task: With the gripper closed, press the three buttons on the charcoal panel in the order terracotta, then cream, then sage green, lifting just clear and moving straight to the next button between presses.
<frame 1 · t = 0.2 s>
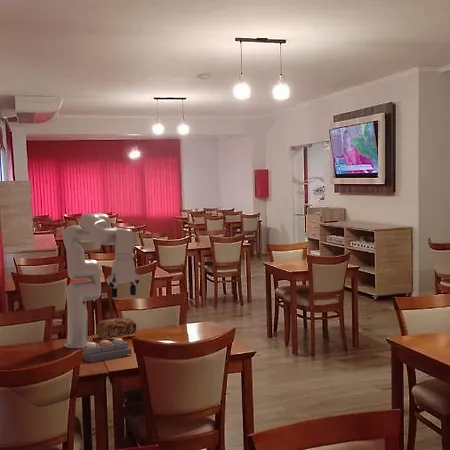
hand: (123, 296, 264), 31 cm above the table, tool pointing down, fingers open, 9 cm apart
sage button: (118, 341, 284), point 6 cm above the table, slide at 0.0 cm
button panel: (104, 356, 280), on the table
terracotta button: (104, 343, 280), point 6 cm above the table, slide at 0.0 cm
cream button: (91, 346, 275), point 6 cm above the table, slide at 0.0 cm
bread: (116, 337, 319), on the table
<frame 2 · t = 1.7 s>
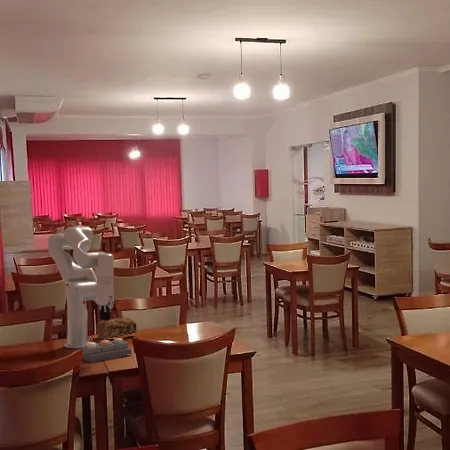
hand: (105, 319, 279), 17 cm above the table, tool pointing down, fingers closed
nothing on the table moved.
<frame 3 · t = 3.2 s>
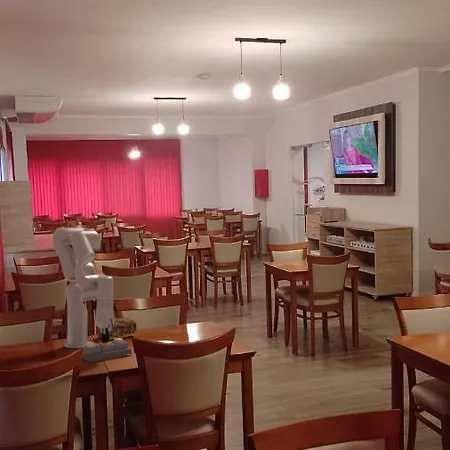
hand: (105, 342, 279), 7 cm above the table, tool pointing down, fingers closed
terracotta button: (104, 344, 280), point 5 cm above the table, slide at 0.5 cm, touching gripper
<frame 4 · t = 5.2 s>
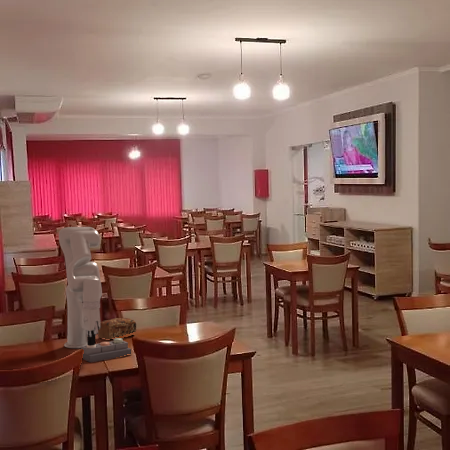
hand: (91, 344, 275), 6 cm above the table, tool pointing down, fingers closed
terracotta button: (104, 345, 280), point 5 cm above the table, slide at 0.8 cm
cream button: (91, 347, 275), point 5 cm above the table, slide at 0.7 cm, touching gripper
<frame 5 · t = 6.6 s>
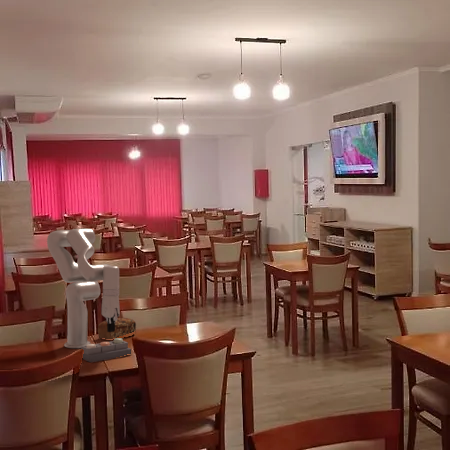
hand: (111, 331, 281), 11 cm above the table, tool pointing down, fingers closed
cream button: (91, 347, 275), point 5 cm above the table, slide at 0.8 cm
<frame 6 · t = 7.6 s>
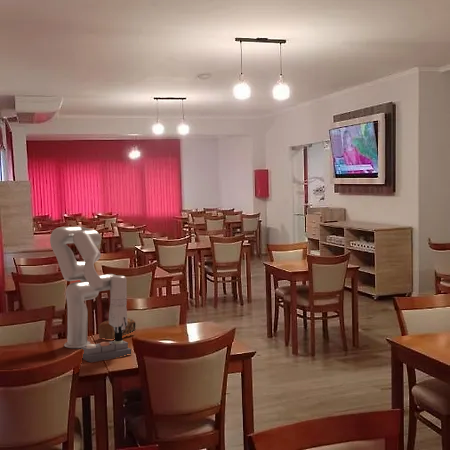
hand: (118, 340, 284), 6 cm above the table, tool pointing down, fingers closed
sage button: (118, 343, 284), point 5 cm above the table, slide at 0.7 cm, touching gripper
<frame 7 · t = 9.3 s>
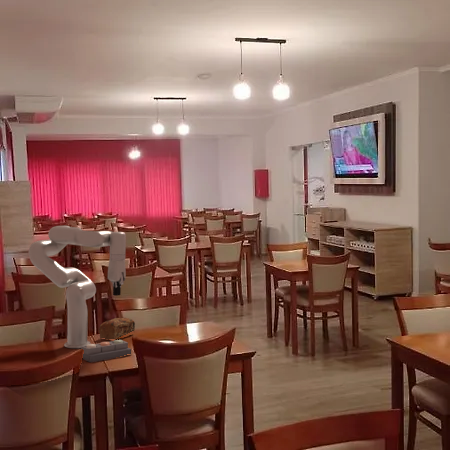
hand: (116, 295, 292), 27 cm above the table, tool pointing down, fingers closed
sage button: (118, 343, 284), point 5 cm above the table, slide at 0.8 cm
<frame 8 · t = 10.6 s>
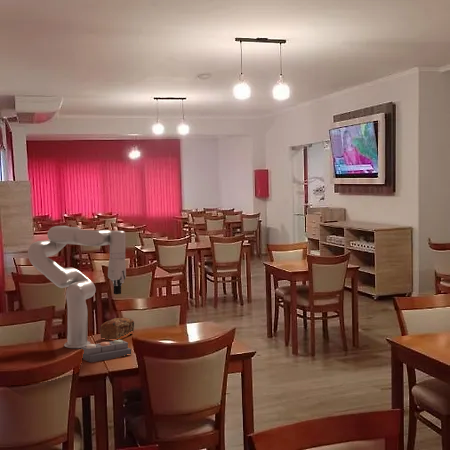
hand: (117, 293, 292), 27 cm above the table, tool pointing down, fingers closed
at the end: terracotta button slide at 0.8 cm; cream button slide at 0.8 cm; sage button slide at 0.8 cm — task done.
